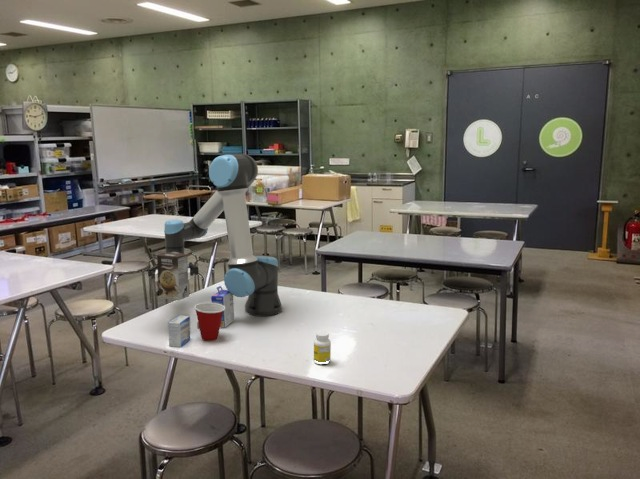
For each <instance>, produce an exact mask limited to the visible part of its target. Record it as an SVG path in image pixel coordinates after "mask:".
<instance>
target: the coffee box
mask: <svg viewBox="0 0 640 479" xmlns="http://www.w3.org/2000/svg"><path fill="white" fill-rule="evenodd" d="M156 260H157V261H156V262H157V263H156V264H158V281H157V282H158V296H159V297H158V298H159V299H163V300H164V299H166V300H173V301H181V300H183V299H186V298H188V297H190V291H189V289H190V288H189V280H188V263H189V261H188V260H189V259H188V254H186V253H184V254H180V253H170V252H167V253H166V252H164V253H159V254H157V255H156Z"/></svg>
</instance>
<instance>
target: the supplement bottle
mask: <svg viewBox="0 0 640 479" xmlns="http://www.w3.org/2000/svg"><path fill="white" fill-rule="evenodd" d="M329 336H330V334H329V332H327V331H323V330H321V331H317V332H316V334H315V340H314V341H313V361H314V360H316V361H318V362H326V361H329V360H330V361H331V355H332V354H331V353H332V352H331V350H332V349H331V347H332V346H331V345H332V344H331V343H332V342H331V340H330V339H329Z"/></svg>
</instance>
